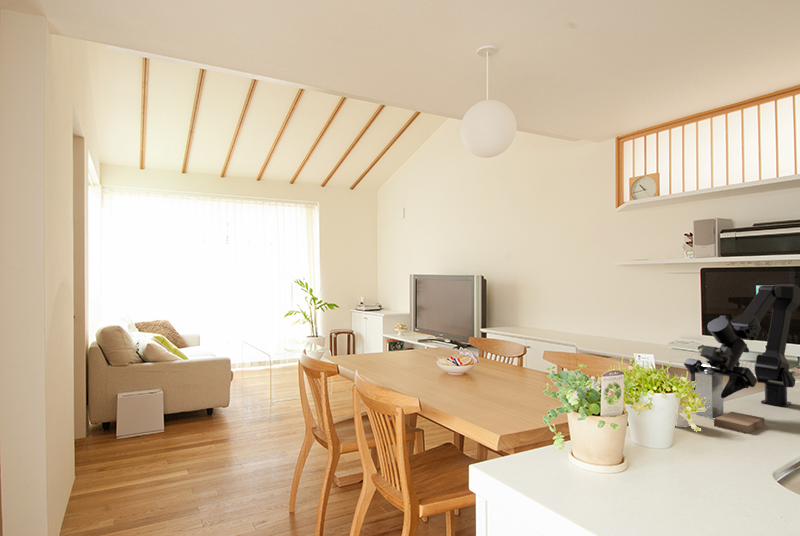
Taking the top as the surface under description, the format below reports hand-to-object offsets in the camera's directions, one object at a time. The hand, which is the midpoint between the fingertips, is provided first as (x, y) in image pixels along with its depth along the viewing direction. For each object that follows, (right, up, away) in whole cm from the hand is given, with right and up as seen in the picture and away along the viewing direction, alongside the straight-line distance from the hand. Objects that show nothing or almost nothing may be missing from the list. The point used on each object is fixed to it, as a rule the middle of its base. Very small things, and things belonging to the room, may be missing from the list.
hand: (706, 393), depth 143 cm
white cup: (-13, -7, -7) cm, 16 cm away
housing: (+1, -7, 0) cm, 7 cm away
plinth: (+3, -6, -9) cm, 12 cm away
